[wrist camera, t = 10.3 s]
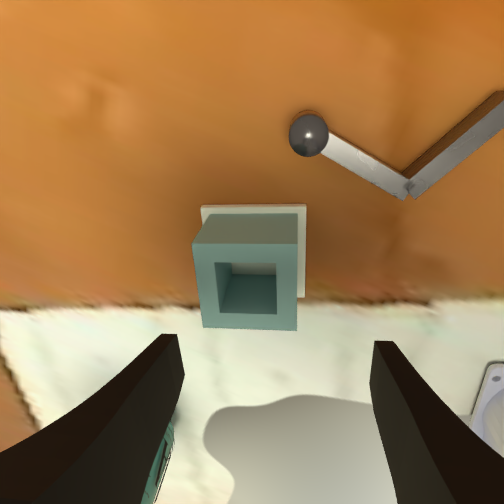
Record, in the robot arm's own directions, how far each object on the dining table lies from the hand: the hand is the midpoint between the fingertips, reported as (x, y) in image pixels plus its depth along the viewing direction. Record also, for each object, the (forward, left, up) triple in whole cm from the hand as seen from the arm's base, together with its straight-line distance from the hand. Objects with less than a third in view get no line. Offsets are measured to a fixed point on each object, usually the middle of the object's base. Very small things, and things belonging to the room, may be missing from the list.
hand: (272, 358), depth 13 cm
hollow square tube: (0, +2, -9) cm, 9 cm away
